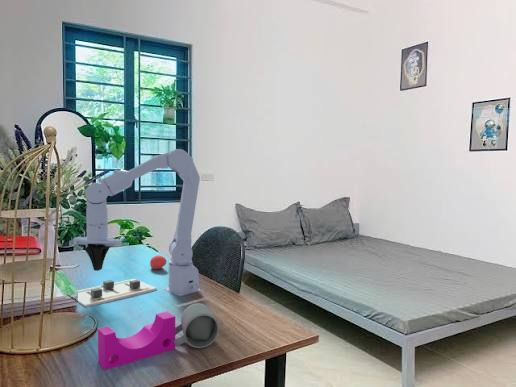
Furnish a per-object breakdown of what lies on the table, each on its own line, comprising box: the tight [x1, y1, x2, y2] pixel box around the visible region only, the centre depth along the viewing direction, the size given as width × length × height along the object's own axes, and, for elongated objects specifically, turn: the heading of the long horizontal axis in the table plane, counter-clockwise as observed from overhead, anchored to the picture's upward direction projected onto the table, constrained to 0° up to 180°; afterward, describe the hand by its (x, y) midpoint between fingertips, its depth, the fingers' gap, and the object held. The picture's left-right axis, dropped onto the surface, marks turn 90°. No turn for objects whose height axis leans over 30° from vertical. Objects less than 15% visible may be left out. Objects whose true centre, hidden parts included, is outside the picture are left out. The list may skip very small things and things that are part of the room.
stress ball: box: [149, 255, 167, 270], centre depth 146 cm, size 5×9×6 cm, turn 27°
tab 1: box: [91, 288, 102, 298], centre depth 112 cm, size 2×2×2 cm
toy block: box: [97, 311, 176, 370], centre depth 82 cm, size 15×6×8 cm, turn 131°
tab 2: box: [102, 279, 115, 289], centre depth 120 cm, size 2×2×2 cm
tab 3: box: [130, 279, 141, 289], centre depth 121 cm, size 2×2×2 cm
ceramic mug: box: [174, 302, 220, 349], centre depth 87 cm, size 11×8×8 cm
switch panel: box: [76, 278, 158, 308], centre depth 119 cm, size 14×22×2 cm, turn 136°
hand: (97, 269), depth 115 cm, fingers closed
